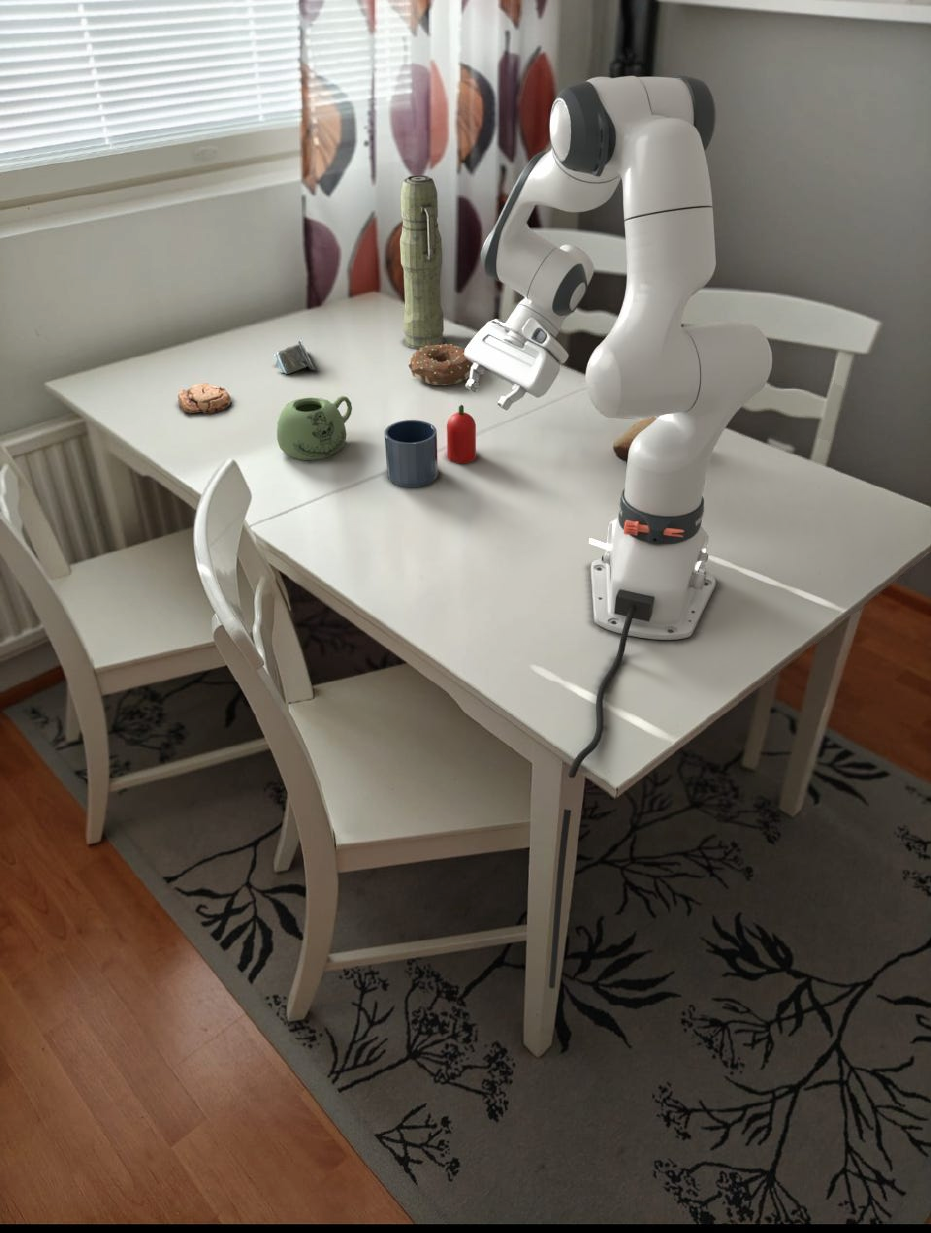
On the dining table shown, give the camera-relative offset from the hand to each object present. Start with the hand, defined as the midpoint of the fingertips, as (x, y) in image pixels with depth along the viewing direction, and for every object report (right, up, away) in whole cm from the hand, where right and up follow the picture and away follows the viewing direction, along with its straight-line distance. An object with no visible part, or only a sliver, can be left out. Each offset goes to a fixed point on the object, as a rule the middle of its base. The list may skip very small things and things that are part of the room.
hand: (485, 398), depth 179 cm
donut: (-9, +11, +31) cm, 35 cm away
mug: (-31, -7, +8) cm, 33 cm away
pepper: (-4, -10, +3) cm, 11 cm away
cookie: (-56, +4, +22) cm, 60 cm away
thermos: (-13, +23, +46) cm, 53 cm away
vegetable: (+31, -10, +3) cm, 32 cm away
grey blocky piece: (-41, +15, +37) cm, 57 cm away
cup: (-13, -14, -2) cm, 19 cm away
